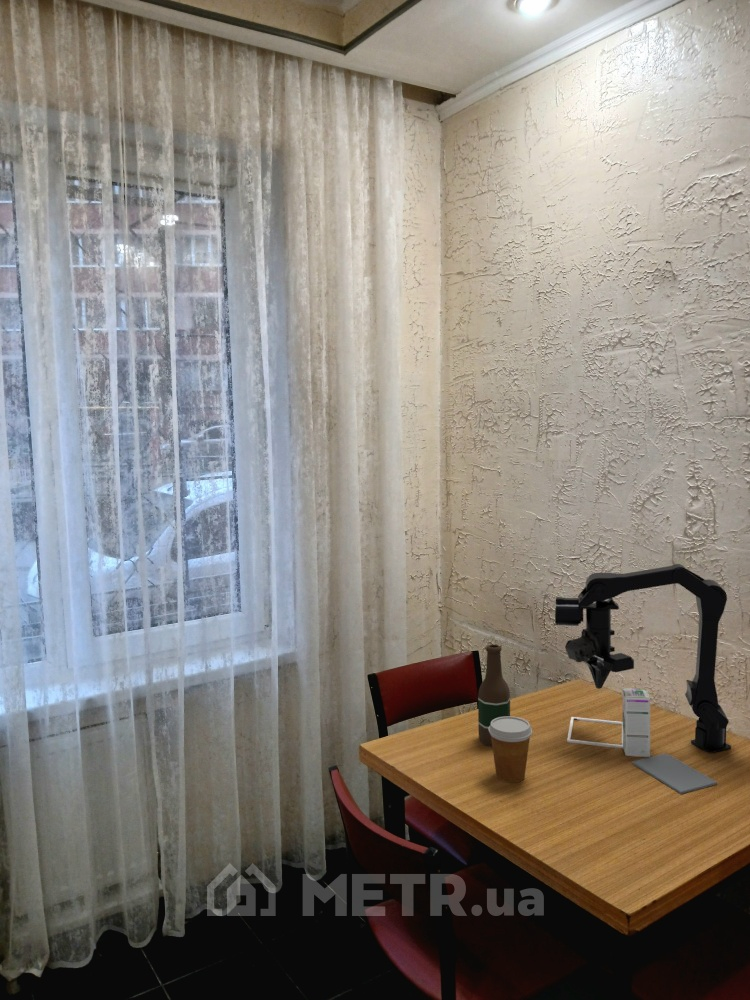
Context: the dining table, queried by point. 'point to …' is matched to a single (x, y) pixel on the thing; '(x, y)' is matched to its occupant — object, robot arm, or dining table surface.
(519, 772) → the disposable coffee cup
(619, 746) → the photo frame
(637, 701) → the syrup box
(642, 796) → the dining table surface
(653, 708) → the dining table surface
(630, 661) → the robot arm
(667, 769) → the mat
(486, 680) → the beer bottle
